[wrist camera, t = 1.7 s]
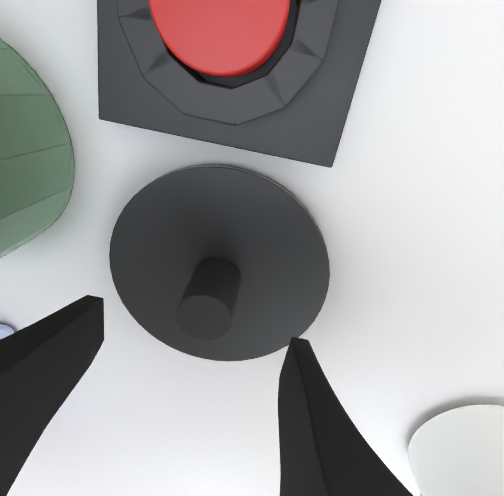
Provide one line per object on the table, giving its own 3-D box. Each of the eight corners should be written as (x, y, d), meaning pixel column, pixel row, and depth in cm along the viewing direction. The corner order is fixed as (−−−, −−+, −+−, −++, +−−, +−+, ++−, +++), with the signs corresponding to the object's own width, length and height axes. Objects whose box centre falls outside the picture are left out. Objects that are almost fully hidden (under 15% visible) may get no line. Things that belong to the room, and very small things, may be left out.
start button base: (328, 162, 15) (338, 178, 12) (111, 117, 15) (73, 123, 12) (405, -104, 11) (445, -167, 8) (111, -169, 11) (56, -253, 8)
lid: (297, 364, 20) (301, 432, 16) (117, 327, 20) (76, 387, 16) (356, 188, 15) (383, 223, 11) (119, 139, 15) (61, 157, 11)
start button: (274, 88, 12) (273, 87, 10) (161, 64, 12) (143, 60, 10) (303, -59, 10) (307, -88, 8) (170, -88, 10) (149, -122, 8)
